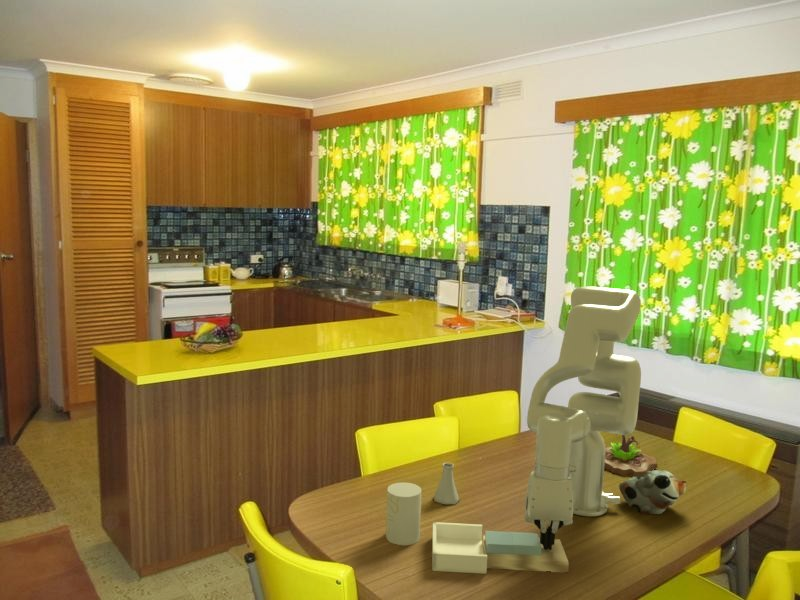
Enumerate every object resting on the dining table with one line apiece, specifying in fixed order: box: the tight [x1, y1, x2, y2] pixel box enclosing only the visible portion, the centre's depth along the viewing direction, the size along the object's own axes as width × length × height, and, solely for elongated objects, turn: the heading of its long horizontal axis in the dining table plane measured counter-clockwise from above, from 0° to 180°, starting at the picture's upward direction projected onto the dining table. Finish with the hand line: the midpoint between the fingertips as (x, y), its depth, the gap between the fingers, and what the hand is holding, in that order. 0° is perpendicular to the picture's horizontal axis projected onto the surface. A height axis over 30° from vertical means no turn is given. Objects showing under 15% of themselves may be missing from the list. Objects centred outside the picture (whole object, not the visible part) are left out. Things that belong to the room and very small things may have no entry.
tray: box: [431, 521, 488, 574], centre depth 148 cm, size 12×15×4 cm
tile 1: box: [484, 530, 514, 554], centre depth 147 cm, size 6×6×2 cm
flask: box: [433, 462, 460, 505], centre depth 176 cm, size 7×7×10 cm
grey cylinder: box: [385, 482, 422, 546], centre depth 155 cm, size 8×8×12 cm
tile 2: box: [510, 531, 542, 556], centre depth 147 cm, size 6×6×2 cm
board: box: [482, 534, 570, 573], centre depth 147 cm, size 18×10×2 cm, turn 87°
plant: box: [604, 434, 658, 477], centre depth 207 cm, size 20×20×11 cm
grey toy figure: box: [618, 469, 688, 515], centre depth 175 cm, size 15×12×14 cm
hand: (546, 546), depth 147 cm, fingers closed
